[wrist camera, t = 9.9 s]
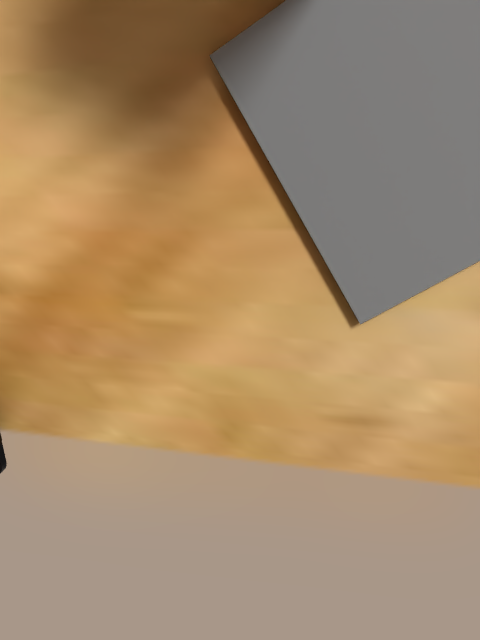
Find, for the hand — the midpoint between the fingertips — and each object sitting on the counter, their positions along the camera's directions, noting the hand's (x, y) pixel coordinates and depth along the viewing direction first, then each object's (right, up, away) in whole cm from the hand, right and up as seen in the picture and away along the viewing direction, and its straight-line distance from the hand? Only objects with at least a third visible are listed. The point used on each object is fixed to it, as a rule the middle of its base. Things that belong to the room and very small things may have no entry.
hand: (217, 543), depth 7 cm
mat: (+7, +11, +10) cm, 17 cm away
